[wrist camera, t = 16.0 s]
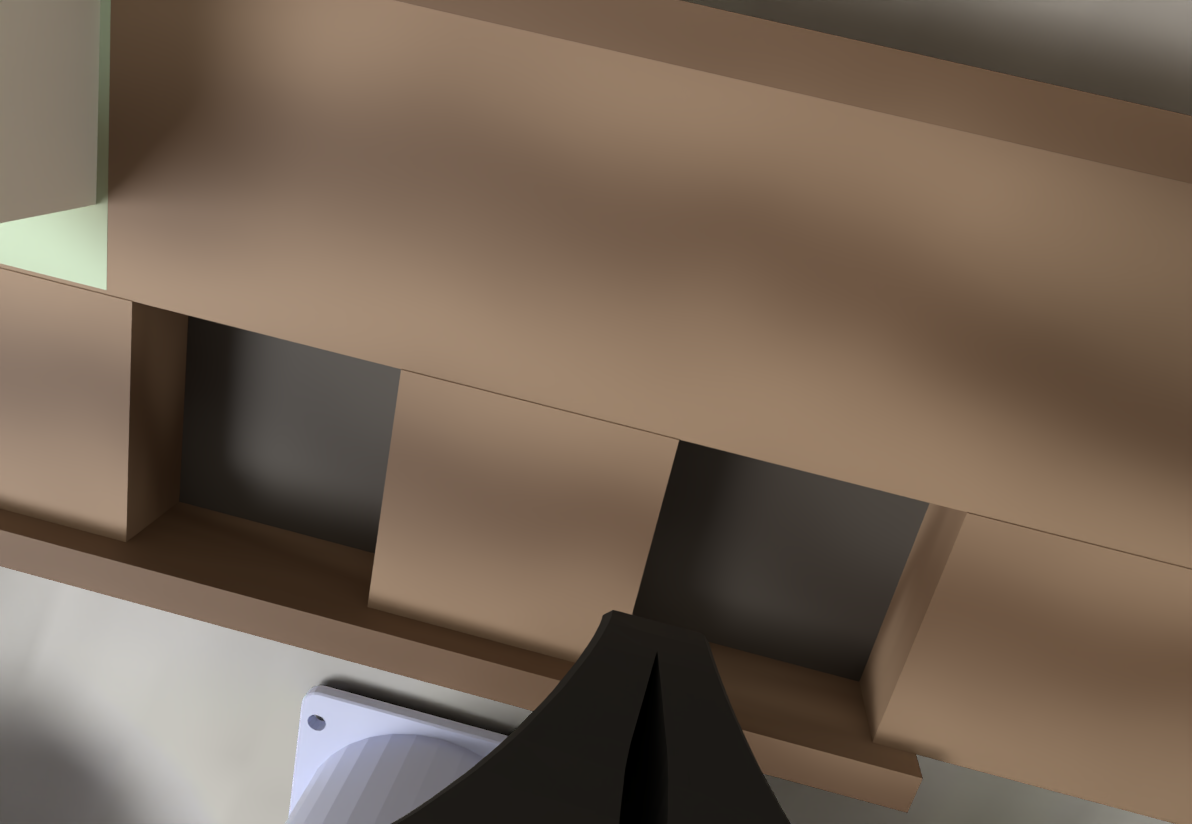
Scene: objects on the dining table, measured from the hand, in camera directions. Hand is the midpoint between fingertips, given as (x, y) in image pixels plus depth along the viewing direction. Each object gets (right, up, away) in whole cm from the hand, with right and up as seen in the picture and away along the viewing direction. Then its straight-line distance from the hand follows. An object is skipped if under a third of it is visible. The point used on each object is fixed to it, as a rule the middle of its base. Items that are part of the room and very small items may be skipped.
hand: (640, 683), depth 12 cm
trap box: (0, +5, +9) cm, 10 cm away
